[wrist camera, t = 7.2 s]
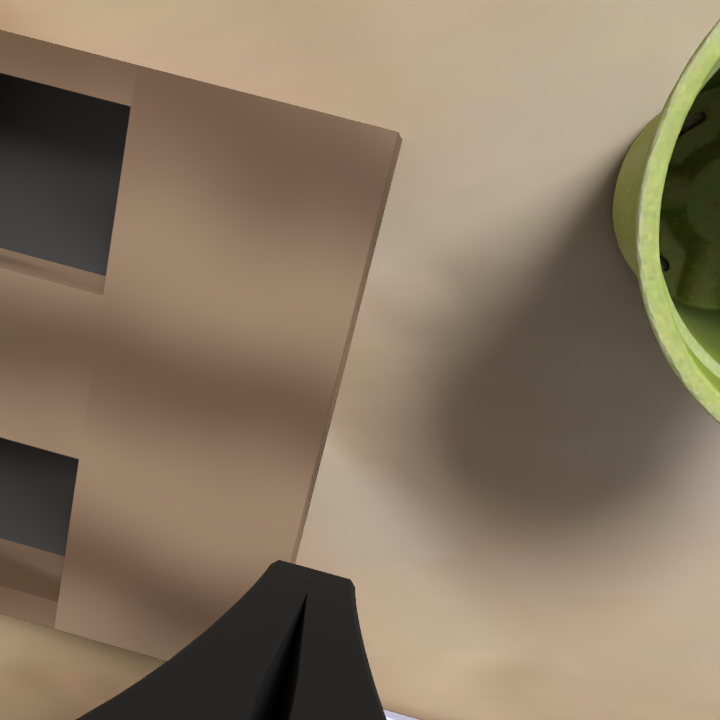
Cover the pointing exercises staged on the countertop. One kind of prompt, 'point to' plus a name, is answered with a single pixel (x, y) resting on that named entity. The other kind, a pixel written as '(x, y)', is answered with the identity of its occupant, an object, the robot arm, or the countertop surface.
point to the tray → (166, 335)
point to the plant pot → (679, 225)
